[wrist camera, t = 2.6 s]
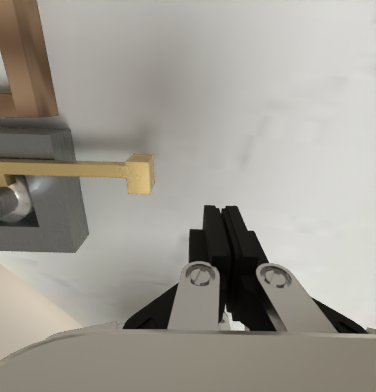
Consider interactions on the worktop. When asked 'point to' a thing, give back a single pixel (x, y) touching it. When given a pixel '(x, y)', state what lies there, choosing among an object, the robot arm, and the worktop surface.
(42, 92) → the frame
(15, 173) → the brass key
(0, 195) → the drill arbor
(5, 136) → the spindle block
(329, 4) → the worktop surface
